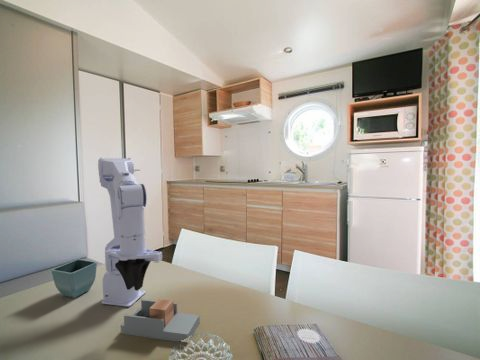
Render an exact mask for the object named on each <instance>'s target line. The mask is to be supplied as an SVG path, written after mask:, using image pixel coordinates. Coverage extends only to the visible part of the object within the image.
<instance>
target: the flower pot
mask: <svg viewBox="0 0 480 360" xmlns="http://www.w3.org/2000/svg"><path fill="white" fill-rule="evenodd" d="M97 265H98V262H97V261H93V260H87V259H86V260H85V259H75V260H72V261H70V262H68V263H65V264H63V265H59V266H58V267H55V268H52V269H51V275H52V280H53V283H54V286H55V288H56V289H57V291H58V292H59V293H60V294H61V295H62V296H65V297H68V298H72V299H73V298H74V299H76V298H78V297H80V296H81V295H83V294H85V293H86V292H89V291H90V290H91V288H92V286H93V285H94V282H95V280H96V278H97V277H96V276H97V268H98V266H97Z"/></svg>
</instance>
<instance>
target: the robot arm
mask: <svg viewBox="0 0 480 360" xmlns="http://www.w3.org/2000/svg"><path fill="white" fill-rule="evenodd" d="M134 165H135V164H134V160H133V159H132V157H128V158H120V157H119V158H113V157H112V158H111V157H110V158H109V157H108V158H107V157H105V158H103V157H100V158H99V159H98V161H97V166H98V167H97V168H98V169H97V170H98V177H99V184H100V186H101V188H104V189H106V190H107V192H108V195H109V200H110V209H111V217H112V218H111V219H112V229H113V237H114V238H112V239H111V240H110V241H109V242H108V243H107V244H106V246H105V248H104V260H105V262H104V263H105V270H106V272H105V273H104V274H103V277H102V297H103V298H102V301H101V302H100V304H102V305H108V306H109V305H111V306H119V307H127V308H128V307H131V306H132V305H133V304H135V303H136V302H137V301H138V300H139V299H140V298H141V297H142V296H144V295H145V294H146V291H145V290H141V289H142V287H143V285H144V279H145V277H146V274H147V269H148V267H149V265H150V263H151V262H154V263H156V264H157V263H160V262H161V261H162V260H163V252H162V251H156V250H153V249H148V248H146V229H145V228H146V227H145V225H146V224H145V208H146V205H147V201H148V200H147V199H148V198H147V189H146V186H145V184H144V183H138V180H137V179H136V177H135V175H134V173H135V166H134Z"/></svg>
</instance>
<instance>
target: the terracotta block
mask: <svg viewBox="0 0 480 360" xmlns="http://www.w3.org/2000/svg"><path fill="white" fill-rule="evenodd" d="M155 301H156V302H155V303H154V304H153V305H152V306H151V307H150V318H156V319H164V327H166V326H167V324H168V323H169V322H170V320H171V319H172V318H173V317H174V307H173V303H174V300H171V299H170V300H169V299H161V298H158V299H157V300H155Z"/></svg>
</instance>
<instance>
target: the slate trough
mask: <svg viewBox="0 0 480 360" xmlns="http://www.w3.org/2000/svg"><path fill="white" fill-rule="evenodd" d="M156 301H157V300H151V299H141V300H140V303H141V304H140V305H141V307H140V308H138V309H136V310H135V311H134V312H133V313H132V314H131V315H129V314H124V315H123V323H122V324H120V334H121V335H122V334H123V335H130V336H136V337H143V338H151V339H155V340H163V341H170V342H179V341H181V340H184V339H186V338H188V337H189V336H191V335H192V336H193V335H194V334H195V331H196V330H197V328H198V327H199V325H200V322H201V321H200V315H199V314H193V313H192V314H191V313H183V312H178V303H177V302H173V307H174V317H173V318H172V319H171V320H170V322H169V323H168V324H167V326H166V327H164V319H156V318H150V307H151V306H152V305H153V304H154V303H155V302H156ZM179 343H180V342H179Z"/></svg>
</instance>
